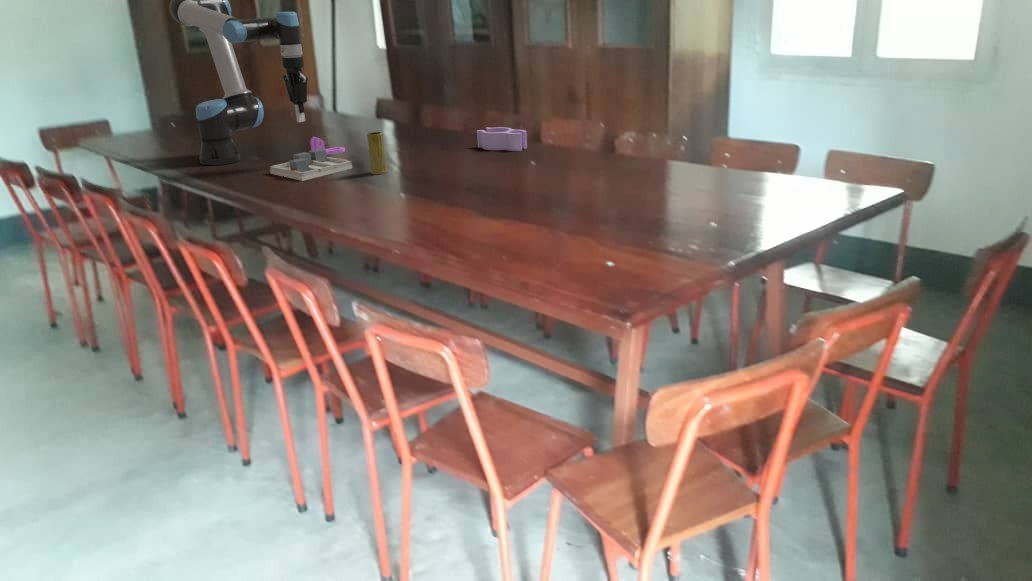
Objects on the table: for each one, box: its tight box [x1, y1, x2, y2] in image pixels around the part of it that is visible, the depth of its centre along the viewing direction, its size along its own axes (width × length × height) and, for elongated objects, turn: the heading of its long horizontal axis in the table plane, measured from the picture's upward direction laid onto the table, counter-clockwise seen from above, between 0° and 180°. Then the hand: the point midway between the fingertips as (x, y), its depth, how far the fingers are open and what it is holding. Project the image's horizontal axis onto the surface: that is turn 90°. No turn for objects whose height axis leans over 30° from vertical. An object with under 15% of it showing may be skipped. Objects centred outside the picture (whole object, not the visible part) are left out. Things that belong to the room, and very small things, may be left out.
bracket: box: [309, 136, 346, 156], centre depth 323 cm, size 13×6×7 cm, turn 125°
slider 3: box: [308, 149, 328, 162], centre depth 302 cm, size 4×5×4 cm
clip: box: [476, 126, 528, 152], centre depth 320 cm, size 20×12×7 cm, turn 57°
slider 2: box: [288, 158, 309, 172], centre depth 287 cm, size 4×5×4 cm
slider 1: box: [292, 151, 312, 165], centre depth 297 cm, size 4×5×4 cm
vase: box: [366, 131, 388, 175], centre depth 286 cm, size 6×6×14 cm
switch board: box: [269, 156, 353, 182], centre depth 295 cm, size 20×22×3 cm
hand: (301, 121), depth 300 cm, fingers closed
